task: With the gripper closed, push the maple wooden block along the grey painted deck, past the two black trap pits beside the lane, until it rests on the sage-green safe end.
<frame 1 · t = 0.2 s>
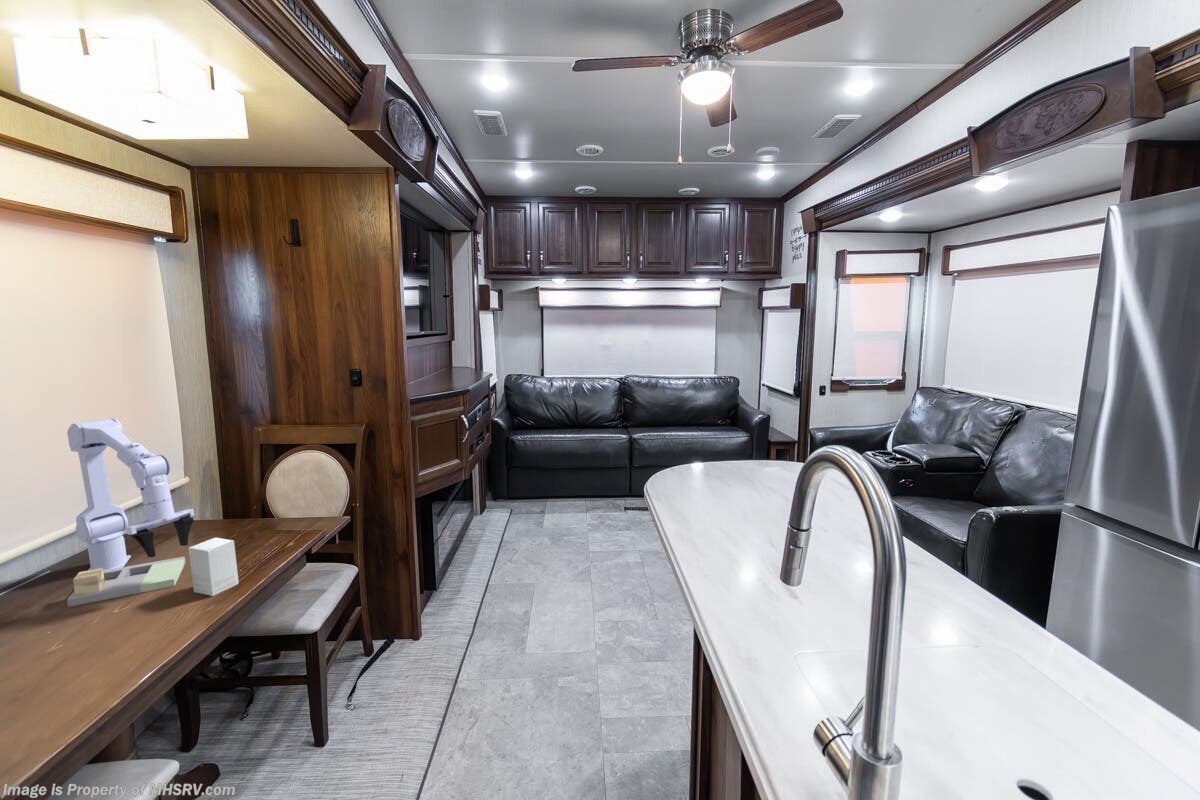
hand: (168, 550, 137), 10 cm above the table, tool pointing down, fingers open, 7 cm apart
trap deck: (131, 582, 141), on the table
maple block: (90, 589, 134), point 2 cm above the table, touching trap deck
supplement box: (216, 588, 139), on the table
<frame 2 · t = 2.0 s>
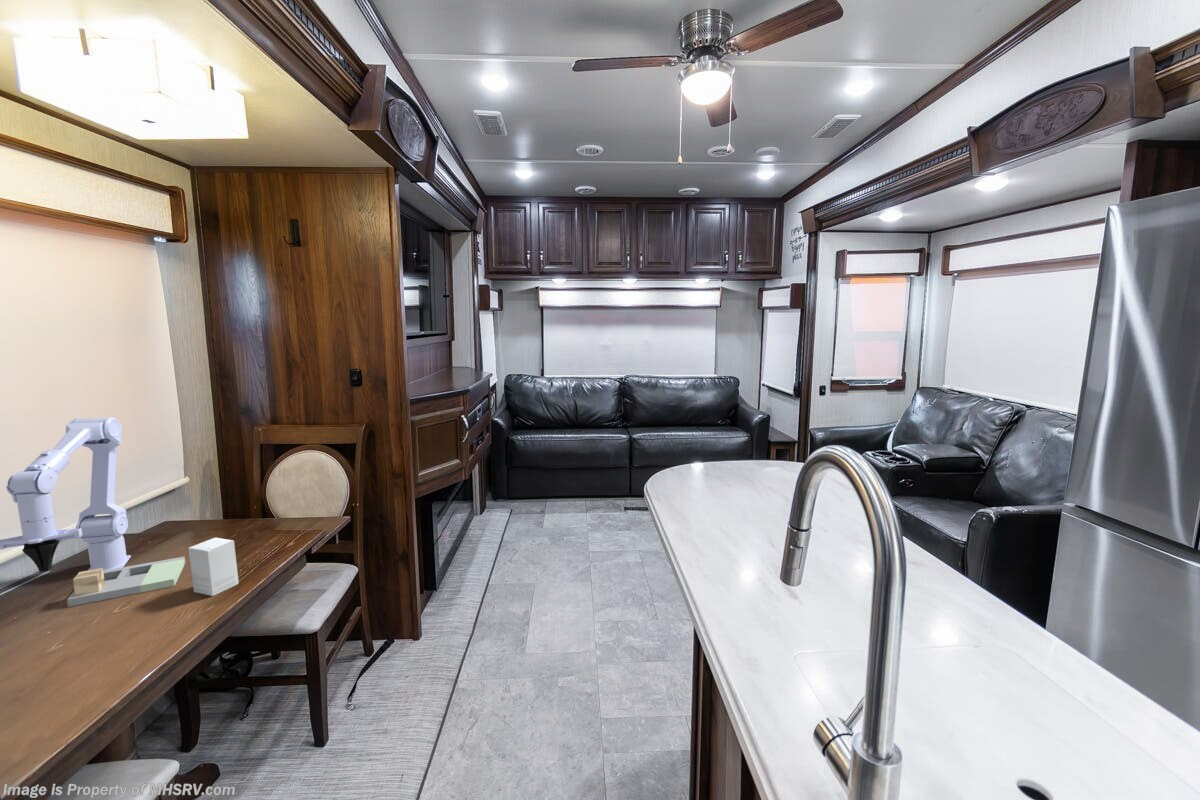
hand: (45, 569, 129), 9 cm above the table, tool pointing down, fingers closed
nothing on the table moved.
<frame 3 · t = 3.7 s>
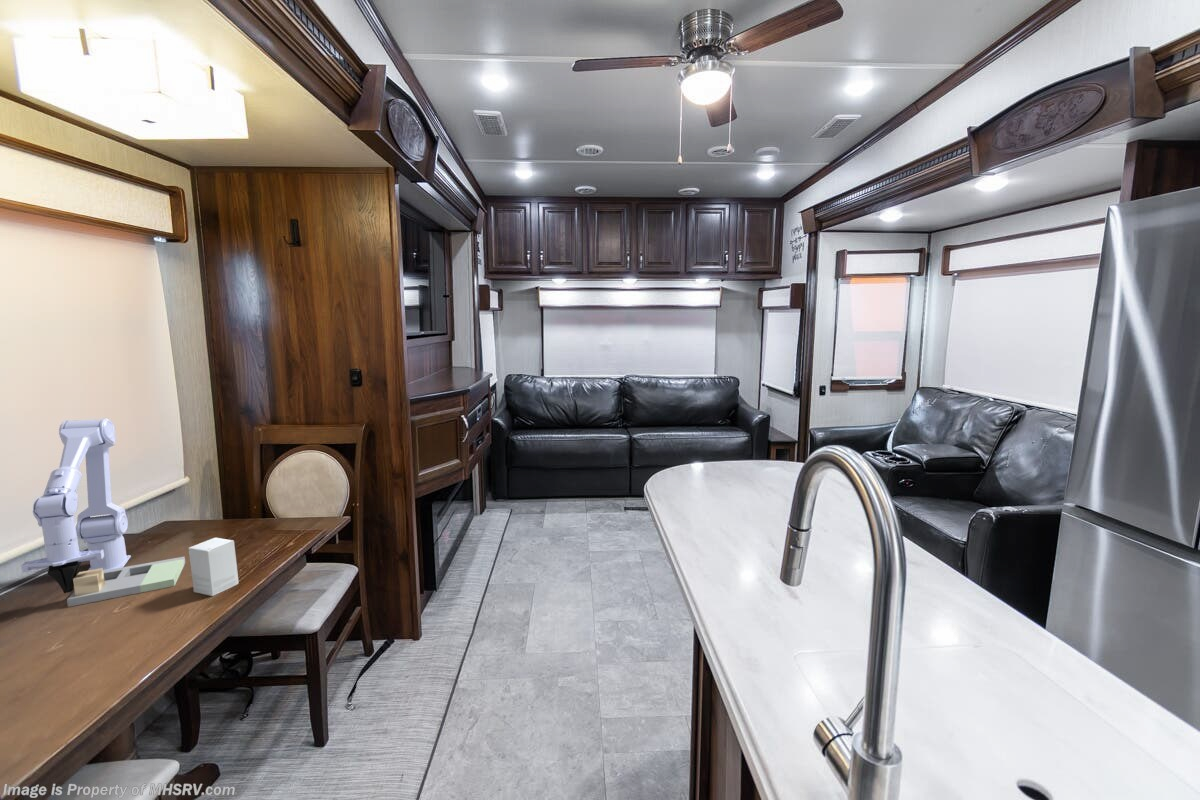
hand: (69, 590, 131), 3 cm above the table, tool pointing down, fingers closed
maple block: (90, 589, 134), point 2 cm above the table, touching gripper, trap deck
everything else where it was.
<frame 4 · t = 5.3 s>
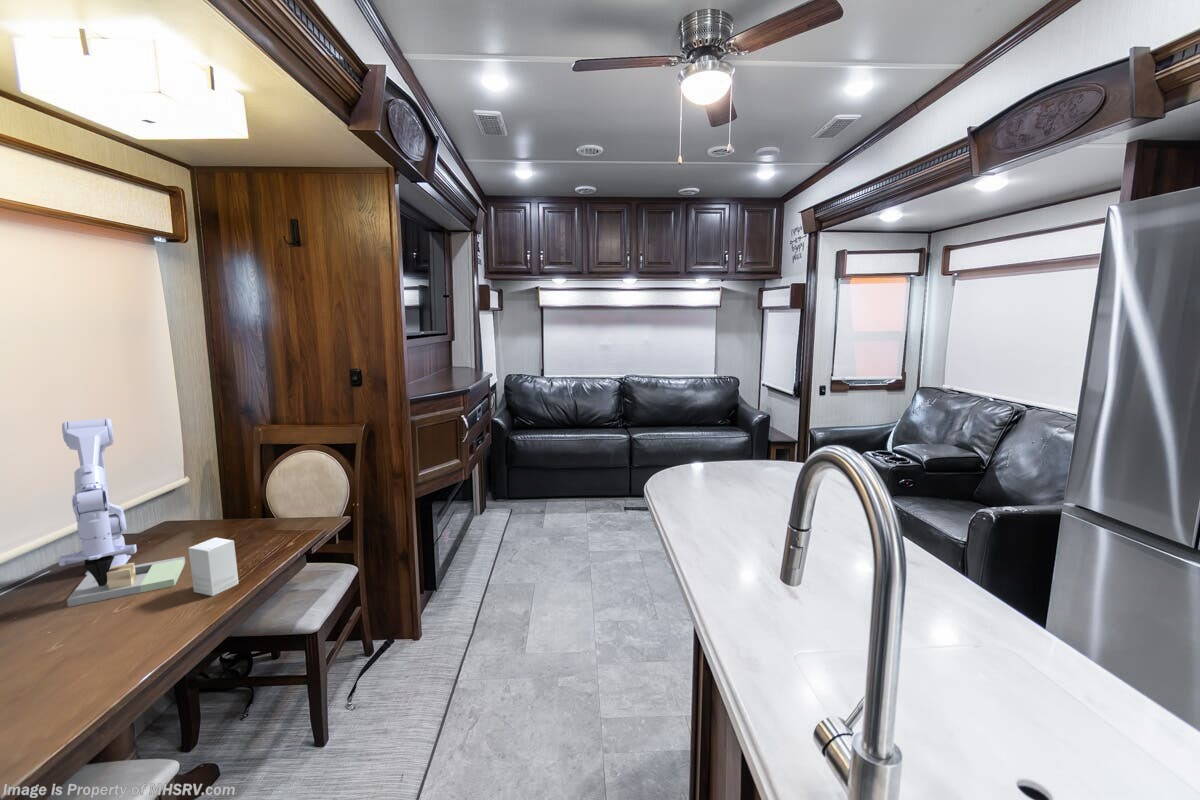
hand: (103, 584, 135), 3 cm above the table, tool pointing down, fingers closed
maple block: (122, 583, 137), point 2 cm above the table, touching gripper, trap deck
everything else where it was.
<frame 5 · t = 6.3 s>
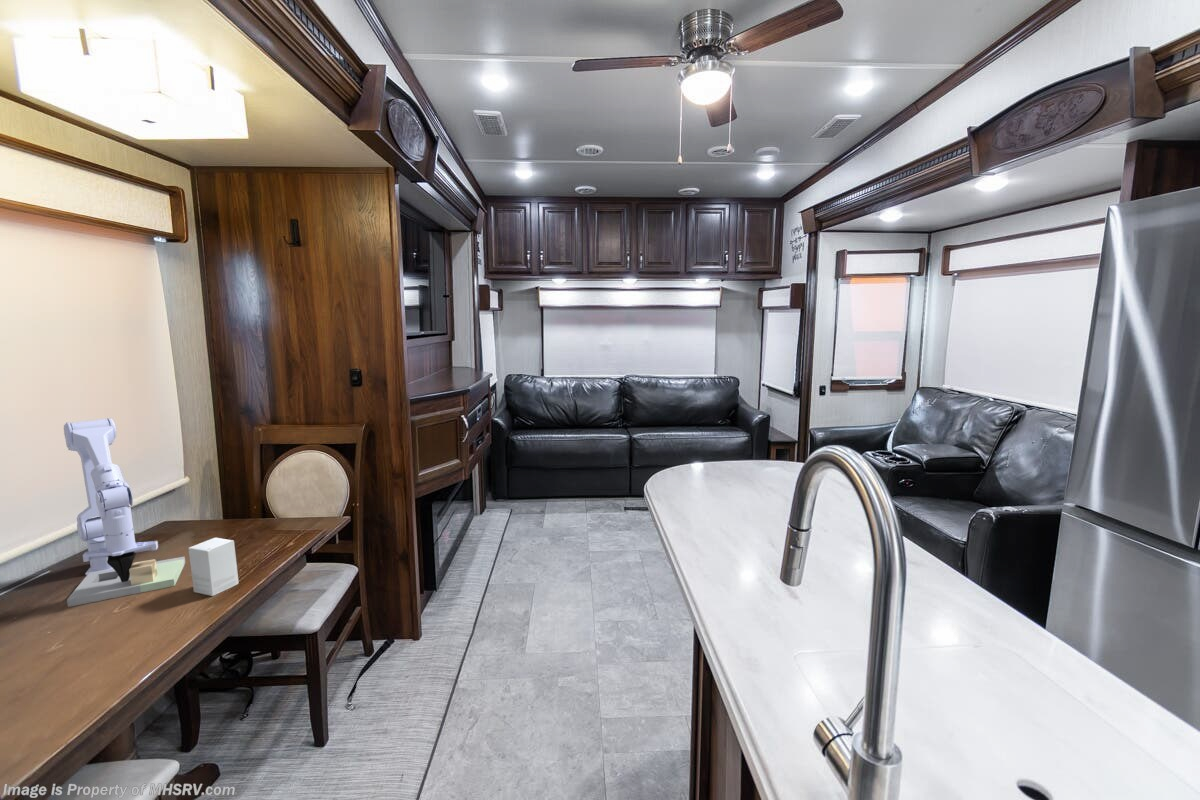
hand: (125, 580, 137), 3 cm above the table, tool pointing down, fingers closed
maple block: (144, 579, 139), point 2 cm above the table, touching gripper, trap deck
everything else where it was.
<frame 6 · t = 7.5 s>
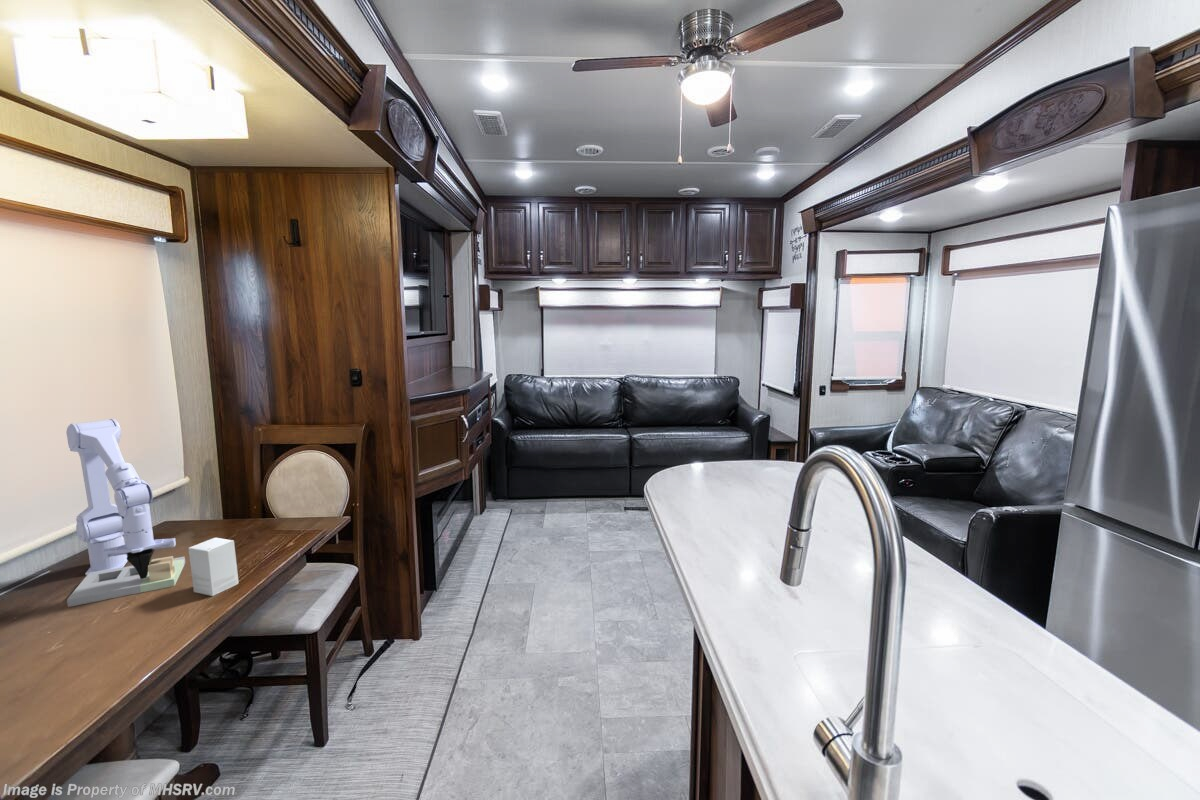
hand: (144, 576, 139), 3 cm above the table, tool pointing down, fingers closed
maple block: (162, 576, 141), point 2 cm above the table, touching gripper, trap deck
everything else where it was.
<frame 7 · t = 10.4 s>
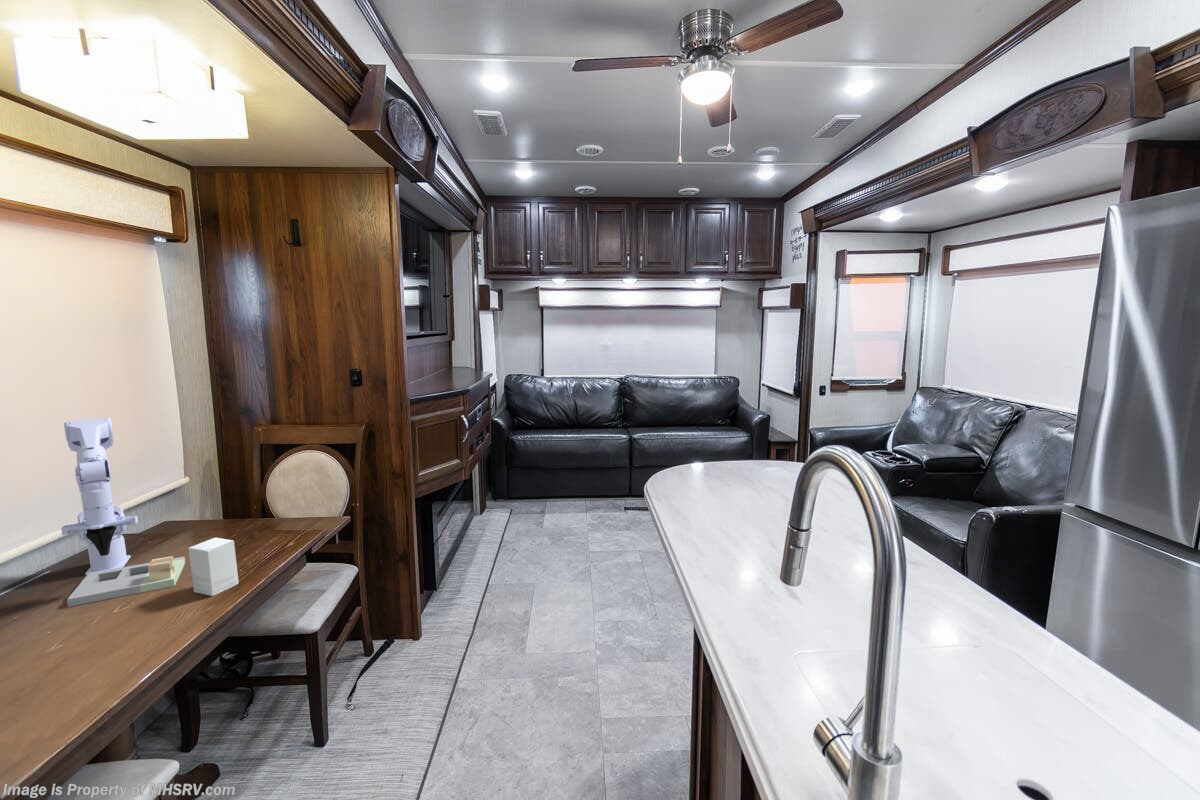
hand: (105, 554, 138), 9 cm above the table, tool pointing down, fingers closed
maple block: (162, 576, 141), point 2 cm above the table, touching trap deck
everything else where it was.
at the end: maple block 0.6 cm from the target spot, point 2.0 cm above the table; maple block tilted 0° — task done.
